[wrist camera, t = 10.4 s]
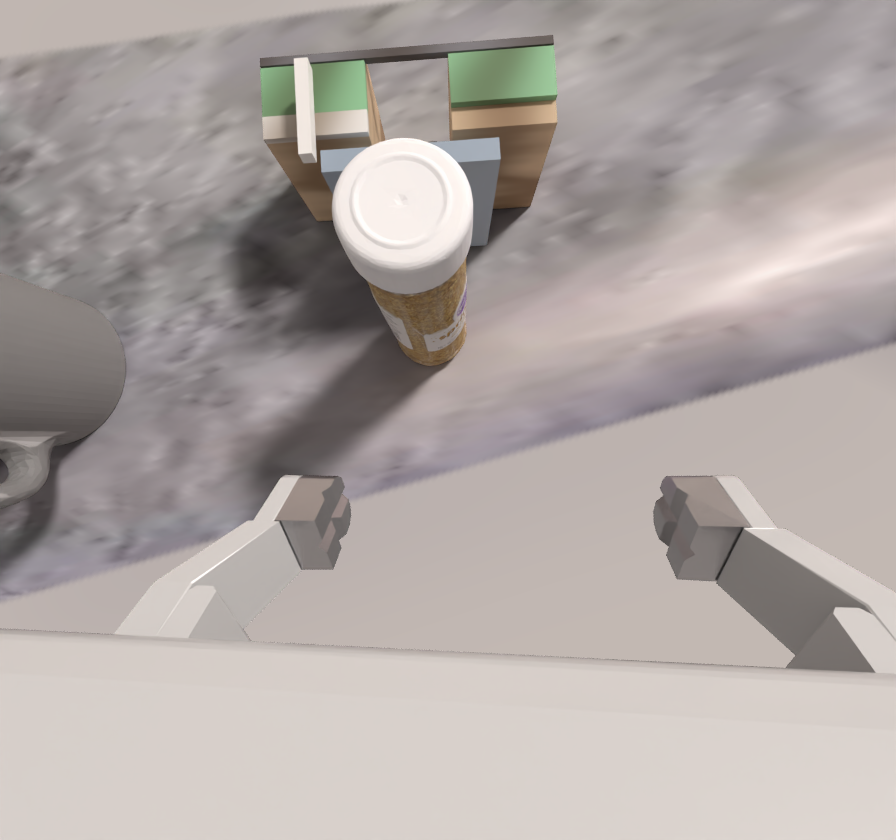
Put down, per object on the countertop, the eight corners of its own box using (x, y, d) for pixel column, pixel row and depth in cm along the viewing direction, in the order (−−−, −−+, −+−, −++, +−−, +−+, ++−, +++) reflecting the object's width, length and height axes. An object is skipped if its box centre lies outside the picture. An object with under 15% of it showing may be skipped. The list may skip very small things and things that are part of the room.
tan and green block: (526, 146, 26) (553, 35, 19) (530, 206, 26) (559, 117, 19) (314, 162, 26) (259, 58, 19) (317, 221, 26) (263, 139, 19)
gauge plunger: (482, 172, 26) (494, 42, 17) (486, 245, 26) (502, 150, 17) (347, 181, 26) (293, 58, 17) (351, 254, 26) (298, 165, 17)
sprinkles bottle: (467, 365, 25) (477, 266, 12) (396, 368, 26) (328, 274, 12) (464, 295, 26) (471, 125, 12) (395, 299, 26) (326, 134, 13)
